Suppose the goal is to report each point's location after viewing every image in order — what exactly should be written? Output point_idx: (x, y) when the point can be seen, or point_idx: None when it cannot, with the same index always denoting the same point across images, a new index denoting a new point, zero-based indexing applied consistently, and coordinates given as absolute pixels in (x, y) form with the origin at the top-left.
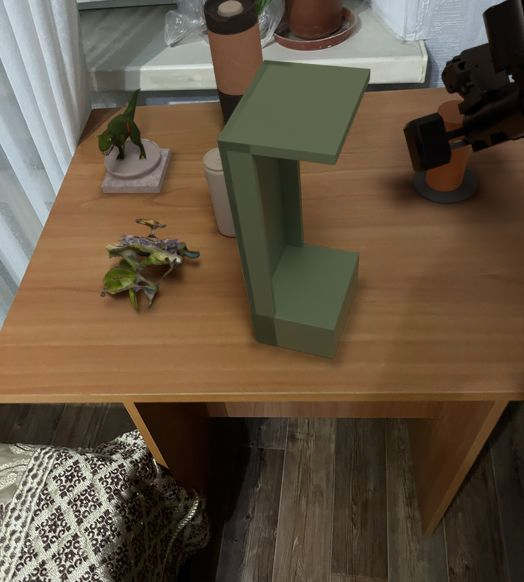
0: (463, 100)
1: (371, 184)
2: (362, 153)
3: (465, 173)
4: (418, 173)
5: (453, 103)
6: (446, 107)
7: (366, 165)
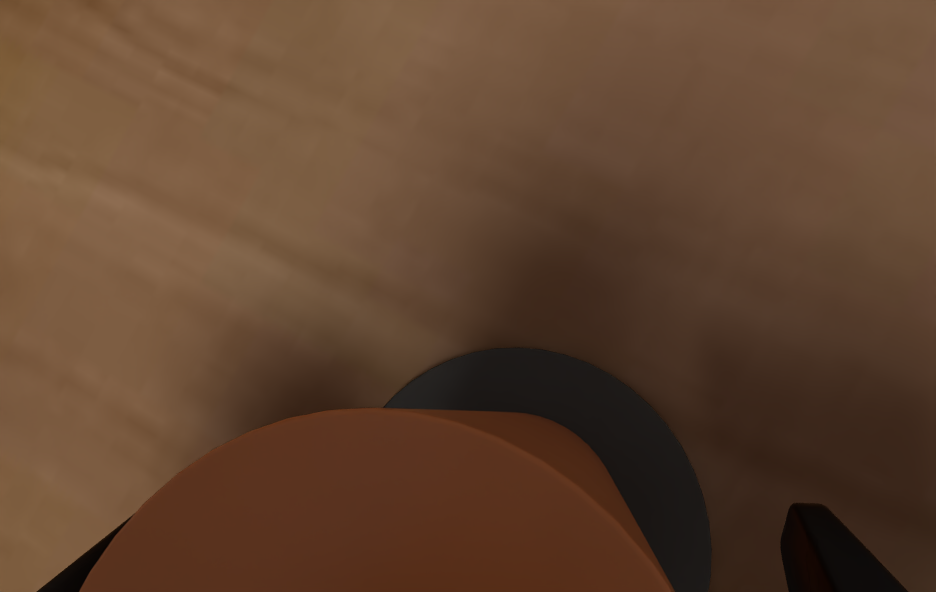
0: (623, 535)
1: (183, 348)
2: (266, 111)
3: (661, 536)
4: (414, 400)
5: (412, 527)
6: (255, 565)
7: (236, 203)
